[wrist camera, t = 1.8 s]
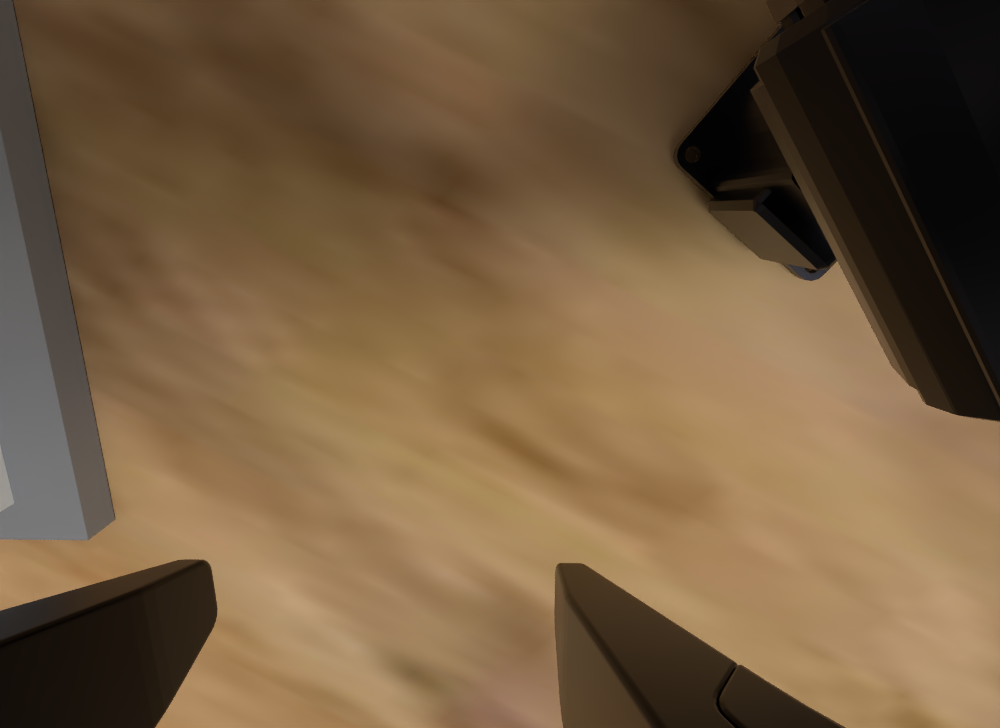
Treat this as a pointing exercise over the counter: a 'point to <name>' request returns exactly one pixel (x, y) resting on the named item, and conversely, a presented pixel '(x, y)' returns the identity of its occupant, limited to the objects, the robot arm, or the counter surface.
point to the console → (39, 341)
